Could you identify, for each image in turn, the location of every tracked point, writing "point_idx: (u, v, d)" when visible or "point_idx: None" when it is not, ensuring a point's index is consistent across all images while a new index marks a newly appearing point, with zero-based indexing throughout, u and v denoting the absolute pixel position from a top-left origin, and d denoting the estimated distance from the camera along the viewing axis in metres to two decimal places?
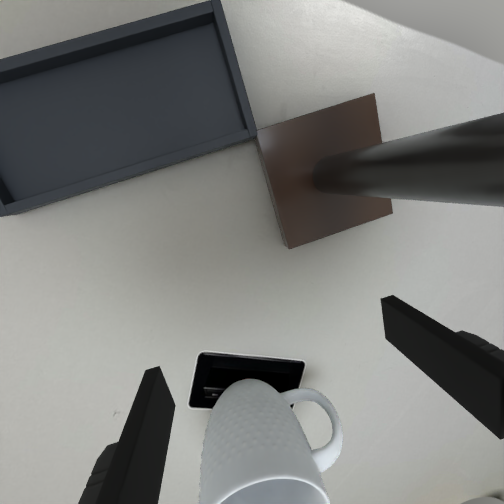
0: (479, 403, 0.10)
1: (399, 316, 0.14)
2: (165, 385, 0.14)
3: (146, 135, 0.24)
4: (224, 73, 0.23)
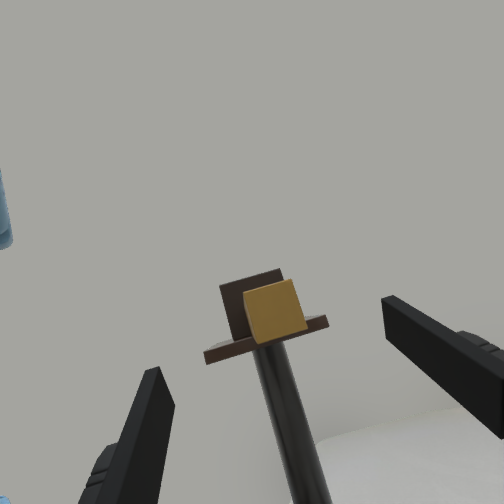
0: (480, 403, 0.10)
1: (399, 316, 0.14)
2: (165, 385, 0.14)
3: None
4: None
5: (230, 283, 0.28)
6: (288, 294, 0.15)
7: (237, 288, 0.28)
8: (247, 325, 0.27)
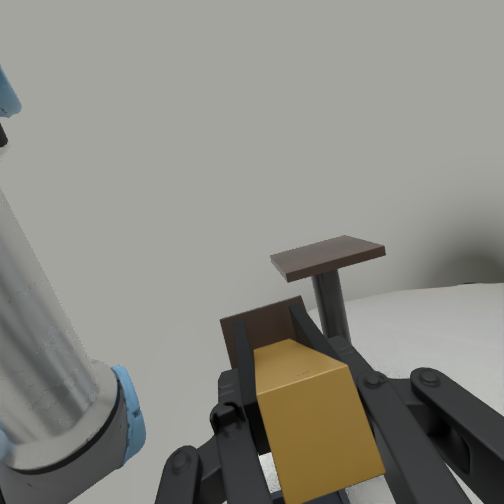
0: None
1: (296, 322, 0.15)
2: None
3: None
4: None
5: (234, 316, 0.21)
6: (344, 398, 0.08)
7: None
8: None
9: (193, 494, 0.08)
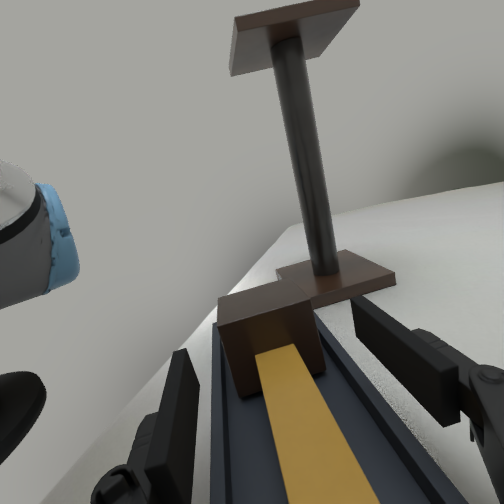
0: (426, 394, 0.11)
1: (364, 315, 0.14)
2: (191, 366, 0.15)
3: None
4: None
5: (234, 323, 0.18)
6: None
7: (245, 330, 0.18)
8: (258, 378, 0.19)
9: None
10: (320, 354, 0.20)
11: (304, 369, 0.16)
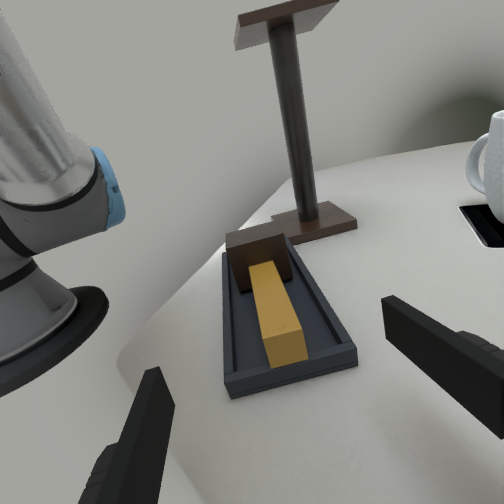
0: (480, 403, 0.10)
1: (399, 316, 0.14)
2: (165, 385, 0.14)
3: None
4: None
5: (236, 246, 0.30)
6: (298, 339, 0.19)
7: (243, 251, 0.30)
8: (250, 281, 0.32)
9: None
10: (289, 267, 0.32)
11: (275, 271, 0.28)
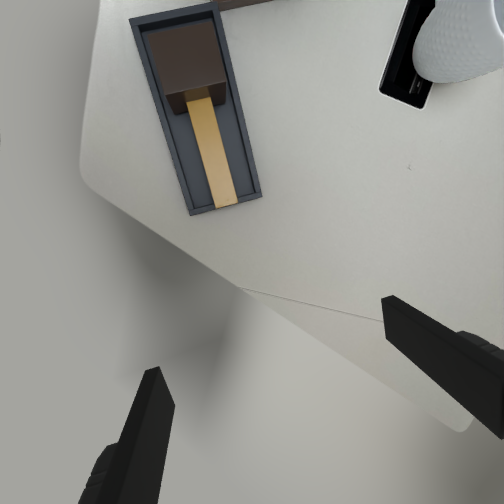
0: (480, 403, 0.10)
1: (399, 316, 0.14)
2: (165, 385, 0.14)
3: None
4: None
5: (176, 93, 0.28)
6: (234, 203, 0.35)
7: (182, 95, 0.29)
8: (186, 108, 0.33)
9: None
10: (224, 98, 0.33)
11: (215, 123, 0.32)
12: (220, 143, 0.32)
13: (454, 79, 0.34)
